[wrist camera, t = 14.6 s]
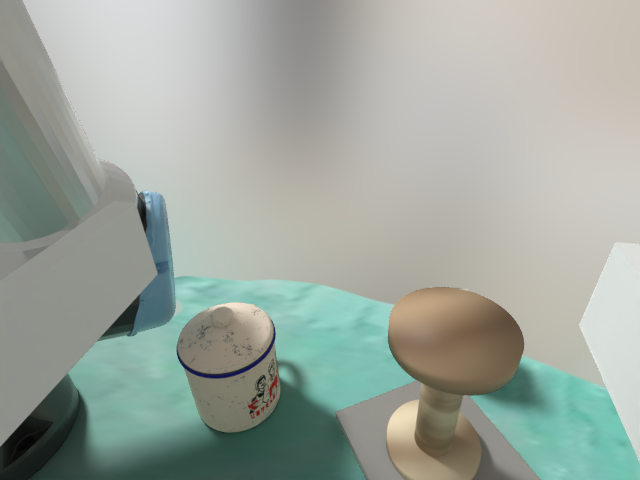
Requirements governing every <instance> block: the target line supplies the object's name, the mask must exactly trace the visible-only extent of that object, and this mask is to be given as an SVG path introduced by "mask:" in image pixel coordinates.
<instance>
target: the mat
mask: <svg viewBox="0 0 640 480" xmlns="http://www.w3.org/2000/svg"><path fill="white" fill-rule="evenodd" d="M421 385H422V383H421V382H419V381H418V380H417V381H415V382H412V383H409V384H407V385H404V386H402V387H399V388H397V389H394V390H391V391H389V392H386V393H384V394H381V395H378V396H376V397H373V398H371V399H368V400H366V401H363V402H360V403H358V404H355V405H353V406H350V407H348V408H345V409H342V410H340V411H337V412H336V419H337V421H338V423H339V425H340V427H341V429H342V431H343V433H344V435H345V437H346V439H347V441H348V443H349V445H350V447H351V449H352V451H353V454H354V456H355V458H356V460H357V462H358V464H359V466H360V468H361V470H362V472H363V474H364V476H365V478H366V480H405V479H404V478H403V477H402V476H401V475H400V474H399V473H398V472H397V470H396V469H395V467H394V466H393V464H392V462H391V460H390V458H389V455H388V452H387V447H386V436H387V427H388V423H389V420H390V418H391V416H392V414H393V413H394V412H395V411H396V410H397V409H398V408H399V407H400V406H402V405H403V404H405V403H407V402H410V401H413V400H419V399H420V392H421ZM460 413H462V414H463V415H464V416H465V417H466V418H467V419H468V420H469V422H470V423H471V424H472V426H473V427H474V429H475V430H476V432H477V435H478V437H479V440H480V444H481V460H480V464H479V467H478V470H477V473H476V475H475V477H474V479H473V480H541V479H540V478H539V477H538V476H537V475H536V474H535V472H534V471H533V470H532V469H531V468H530V466H529V465H528V464H527V463H526V462H525V461H524V459H523V458H522V457H521V456H520V455H519V454H518V452H517V451H516V450H515V449H514V448H513V447H512V445H511V444H510V443H509V442H508V441H507V440H506V438H505V437H504V436H503V435H502V434H501V433H500V431H499V430H498V429H497V428H496V427H495V426H494V424H493V423H492V422H491V421H490V420H489V419H488V417H487V416H486V415H485V414H484V413H483V411H482V410H481V409H480V408H479V407H478V406H477V404H476V403H475V402H474V401H473V400H472V399H471V397H470V396H469V395H463V399H462V403H461V408H460Z"/></svg>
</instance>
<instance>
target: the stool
mask: <svg viewBox="0 0 640 480" xmlns="http://www.w3.org/2000/svg"><path fill="white" fill-rule="evenodd" d="M388 343H389V347H390V350H391V353H392V355H393V357H394V358H395V360H396V361H397V363H398V364H399V365H400V366H401V367H402V369H404V370H405V371H406V372H407V373H408V374H409V375H410V376H412V377H413V378H414V379H416V380H418V381H419V382H421V383H422V385H421V392H420V399H419V400H413V401H410V402H407V403H405V404H403V405H402V406H400V407H399V408H398V409H397V410H396V411H395V412H394V413H393V414H392V416H391V418H390V420H389V423H388V427H387V436H386V447H387V452H388V455H389V458H390V460H391V462H392V464H393V466H394V467H395V469H396V470H397V472H398V473H399V474H400V475H401V476H402V477H403V478H404V479H405V480H473V479H474V477H475V475H476V473H477V470H478V467H479V464H480V460H481V444H480V440H479V437H478V435H477V432H476V430H475V429H474V427H473V426H472V424H471V423H470V422H469V420H468V419H467V418H466V417H465V416H464V415H463V414H462V413H460V408H461V403H462V399H463V395H470V396H471V395H481V394H486V393H490V392H493V391H496V390H498V389H500V388H502V387H503V386H505V385H506V384H507V383H509V382H510V381H511V379H512V378H513V377H514V375H515V374H516V372H517V369H518V366H519V363H520V360H521V356H522V353H523V350H524V339H523V335H522V332H521V330H520V327H519V326H518V324H517V323H516V321H515V320H514V319H513V318H512V316H511V315H510V314H509V313H508V312H507V311H506V310H504V309H503V308H502V307H501V306H499V305H498V304H496V303H494V302H493V301H491V300H489V299H488V298H485V297H483V296H481V295H478V294H476V293H473V292H470V291H466V290H462V289H457V288H449V287H432V288H426V289H421V290H417V291H414V292H412V293H410V294H408V295H406V296H404V297H403V298H401V299H400V300H399V301H398V302H397V303H396V304H395V306H394V307H393V309H392V311H391V314H390V317H389V330H388Z"/></svg>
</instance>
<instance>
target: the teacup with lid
mask: <svg viewBox="0 0 640 480" xmlns="http://www.w3.org/2000/svg"><path fill="white" fill-rule="evenodd" d="M274 341H275V327H274V324H273V322H272V320H271V319H270V317H269V316H268V315H267V314H266V313H265V312H264V311H263V310H261V309H260V308H258V307H257V306H256V305H254V304H246V303H225V304H220V305H216V306H213V307H211V308H208V309H206V310H204V311H202V312H200V313H199V314H197V315H196V316H195V317H193V318H192V319H191V320H190V321H189V322H188V323H187V324H186V325H185V327H184V328H183V330H182V332H181V334H180V336H179V339H178V343H177V356H178V359H179V361H180V363H181V365H182V366H183V367H184V369H185V372H186V375H187V378H188V381H189V385H190V388H191V391H192V394H193V397H194V400H195V404H196V407H197V410H198V413H199V415H200V417H201V419H202V420H203V421H204V422H205V423H206V424H207V425H208V426H210V427H211V428H213V429H215V430H218V431H221V432H240V431H245V430H248V429H250V428H253V427H255V426H257V425H258V424H260V423H261V422H263V421H264V420H265V419H266V418H267V417H268V416H269V415H270V414H271V413H272V412H273V410H274V409H275V407H276V405H277V403H278V400H279V397H280V381H279V374H278V366H277V359H276V351H275V344H274Z"/></svg>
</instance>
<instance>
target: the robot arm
mask: <svg viewBox="0 0 640 480" xmlns="http://www.w3.org/2000/svg"><path fill="white" fill-rule="evenodd" d="M175 308H176V299H175V284H174V272H173V262H172V252H171V243H170V235H169V226H168V218H167V211H166V204H165V200H164V198H163V196H162V195H161V194H159V193H157V192H148V191H142V192H140V194H138V193H137V191H136V189H135V186H134V184H133V183H132V180H131V179H130V177H129V176H128V175H127V174H126V173H125V172H124V171H123V170H122V169H120V168H119V167H117V166H116V165H114V164H112V163H110V162H107V161H105V160H102V159H98V158H97V157H96V155H95V153H94V151H93V149H92V147H91V145H90V143H89V140H88V138H87V136H86V134H85V132H84V130H83V128H82V125H81V124H80V121H79V119H78V117H77V115H76V113H75V111H74V109H73V107H72V104H71V102H70V100H69V98H68V96H67V94H66V92H65V90H64V88H63V85H62V83H61V81H60V79H59V77H58V75H57V73H56V71H55V69H54V66H53V64H52V62H51V60H50V58H49V56H48V54H47V52H46V50H45V47H44V45H43V43H42V41H41V39H40V37H39V35H38V33H37V31H36V28H35V26H34V24H33V22H32V20H31V18H30V16H29V14H28V12H27V9H26V7H25V5H24V3H23V1H22V0H0V480H27V479H28V478H29V477H30V476H32V475H33V474H34V473H35V472H36V471H37V470H38V469H39V468H41V467H42V466H43V465H44V464H45V463H46V462H47V461H48V460H49V459H50V457H51V456H52V455H53V454H54V453H55V452H56V451H57V449H58V448H59V447H60V446H61V444H62V443H63V441H64V440H65V439H66V437H67V435H68V434H69V432H70V430H71V428H72V426H73V424H74V422H75V419H76V416H77V413H78V408H79V395H78V391H77V389H76V387H75V385H74V383H73V381H72V380H71V378H70V376H69V374H68V372H69V371H70V370H71V369H72V368H73V366H74V365H75V364H76V363H77V362H78V361H79V360H80V359H81V358H82V357H83V356H84V354H85V353H86V352H87V351H88V350H89V349H90V348H91V347H92V346H93V345H94V344H95V342H96V341H101V340H106V339H111V338H115V337H120V336H125V335H127V336H134V335H136V334H137V333H138V332H141V331H145V330H148V329H152V328H156V327H159V326H162V325H164V324H166V323H167V322H169V321H170V320H171V318H172V317H173V315H174V313H175ZM579 326H580V329H581V331H582V333H583V335H584V337H585V340H586V342H587V344H588V347H589V349H590V351H591V353H592V356H593V358H594V360H595V362H596V365H597V367H598V369H599V371H600V374H601V376H602V378H603V380H604V383H605V385H606V387H607V390H608V392H609V394H610V396H611V399H612V401H613V403H614V405H615V408H616V410H617V412H618V414H619V417H620V419H621V421H622V423H623V426H624V428H625V430H626V432H627V435H628V437H629V439H630V442H631V444H632V446H633V448H634V451H635V453H636V455H637V457H638V460H639V462H640V244H631V243H618V242H615V244H614V246H613V249H612V251H611V253H610V256H609V258H608V260H607V262H606V265H605V267H604V269H603V272H602V274H601V276H600V279H599V281H598V283H597V285H596V288H595V290H594V292H593V294H592V297H591V299H590V302H589V304H588V306H587V309H586V311H585V313H584V315H583V317H582V320H581V322H580V324H579Z"/></svg>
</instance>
